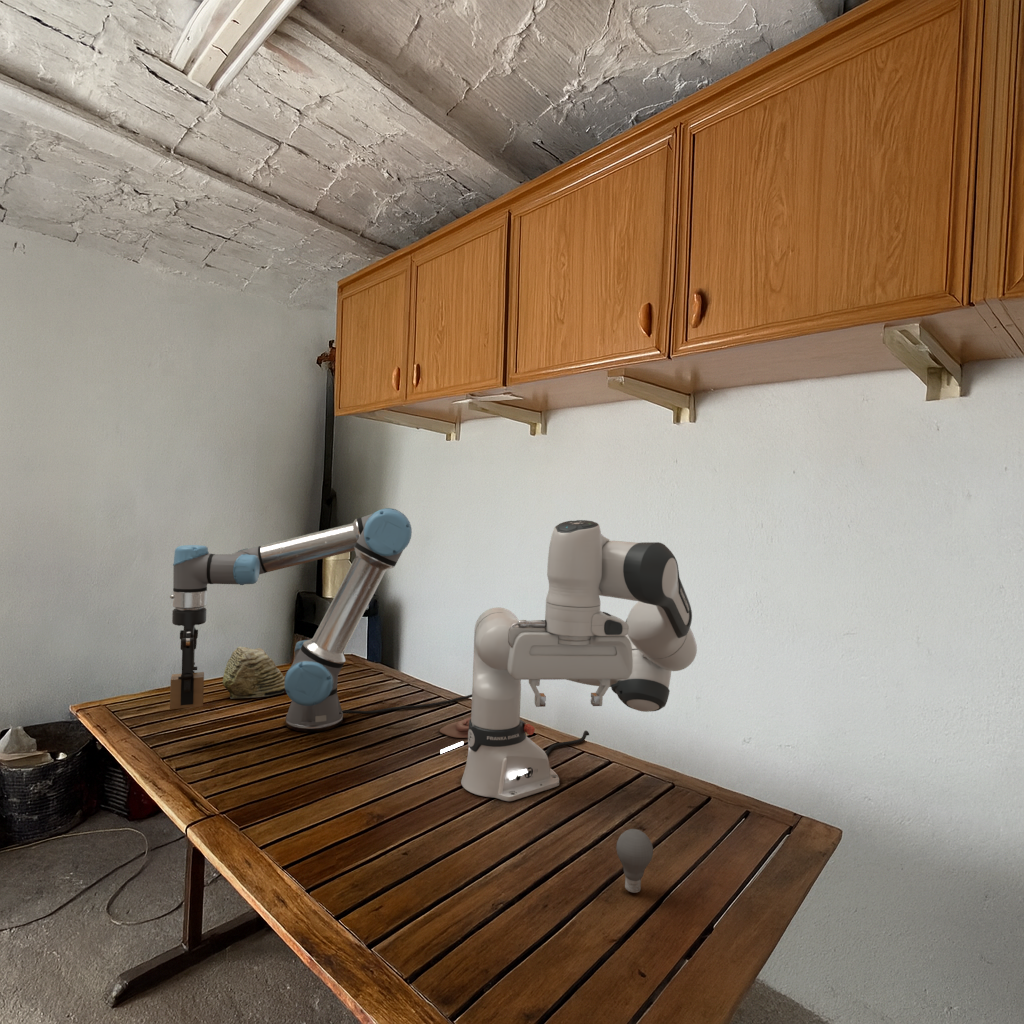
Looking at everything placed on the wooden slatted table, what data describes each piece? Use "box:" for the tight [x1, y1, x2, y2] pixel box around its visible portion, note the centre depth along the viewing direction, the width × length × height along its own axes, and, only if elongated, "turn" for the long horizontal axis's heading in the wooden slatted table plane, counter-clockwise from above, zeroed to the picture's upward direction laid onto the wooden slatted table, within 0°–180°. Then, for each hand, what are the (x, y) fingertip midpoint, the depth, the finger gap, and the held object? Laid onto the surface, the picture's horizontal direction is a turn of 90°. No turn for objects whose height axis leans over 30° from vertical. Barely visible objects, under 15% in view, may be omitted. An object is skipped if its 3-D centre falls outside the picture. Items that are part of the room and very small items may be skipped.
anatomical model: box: [439, 716, 471, 739], centre depth 175 cm, size 13×4×12 cm
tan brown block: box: [169, 671, 205, 710], centre depth 157 cm, size 5×7×7 cm
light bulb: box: [615, 828, 654, 894], centre depth 106 cm, size 6×6×10 cm
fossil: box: [222, 646, 286, 699], centre depth 198 cm, size 9×18×15 cm, turn 132°
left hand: (187, 700), depth 158 cm, fingers closed on tan brown block, 5 cm apart
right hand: (568, 705), depth 103 cm, fingers open, 8 cm apart
